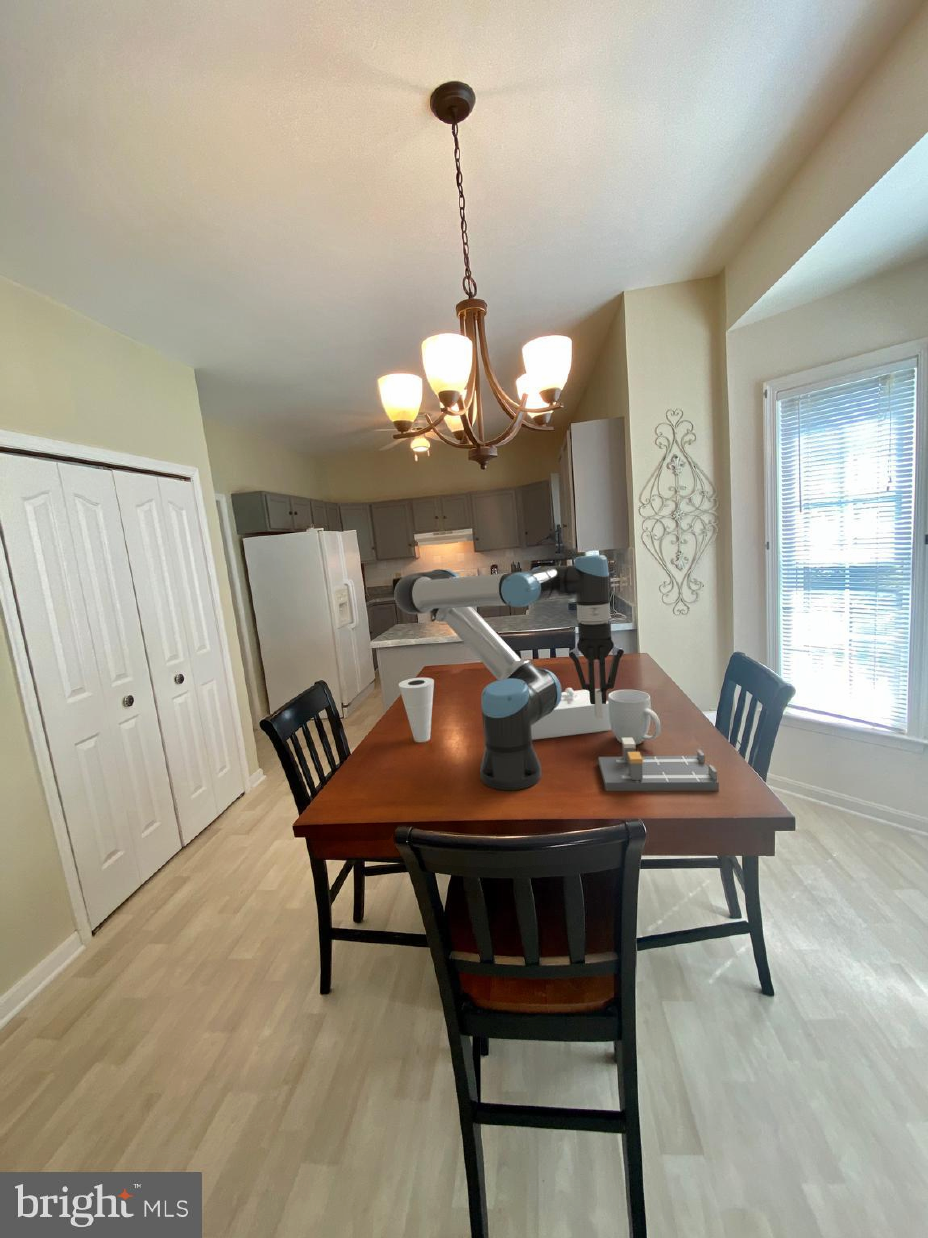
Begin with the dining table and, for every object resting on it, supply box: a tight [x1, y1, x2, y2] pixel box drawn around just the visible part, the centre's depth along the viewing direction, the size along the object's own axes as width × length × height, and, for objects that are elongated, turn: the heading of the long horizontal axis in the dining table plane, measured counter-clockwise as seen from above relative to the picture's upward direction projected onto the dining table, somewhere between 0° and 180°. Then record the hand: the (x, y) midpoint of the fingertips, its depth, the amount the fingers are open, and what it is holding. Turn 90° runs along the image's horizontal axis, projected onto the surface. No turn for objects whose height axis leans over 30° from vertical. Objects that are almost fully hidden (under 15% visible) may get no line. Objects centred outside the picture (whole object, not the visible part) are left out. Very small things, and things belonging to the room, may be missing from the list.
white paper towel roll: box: [398, 677, 435, 743], centre depth 146 cm, size 11×11×18 cm
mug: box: [607, 689, 662, 745], centre depth 131 cm, size 15×11×13 cm
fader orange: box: [627, 751, 643, 780], centre depth 110 cm, size 3×4×5 cm
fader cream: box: [621, 738, 636, 763], centre depth 117 cm, size 3×4×5 cm
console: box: [598, 749, 720, 792], centre depth 113 cm, size 24×13×4 cm, turn 81°
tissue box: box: [531, 687, 612, 741], centre depth 147 cm, size 14×25×11 cm, turn 95°
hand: (598, 716), depth 117 cm, fingers closed
